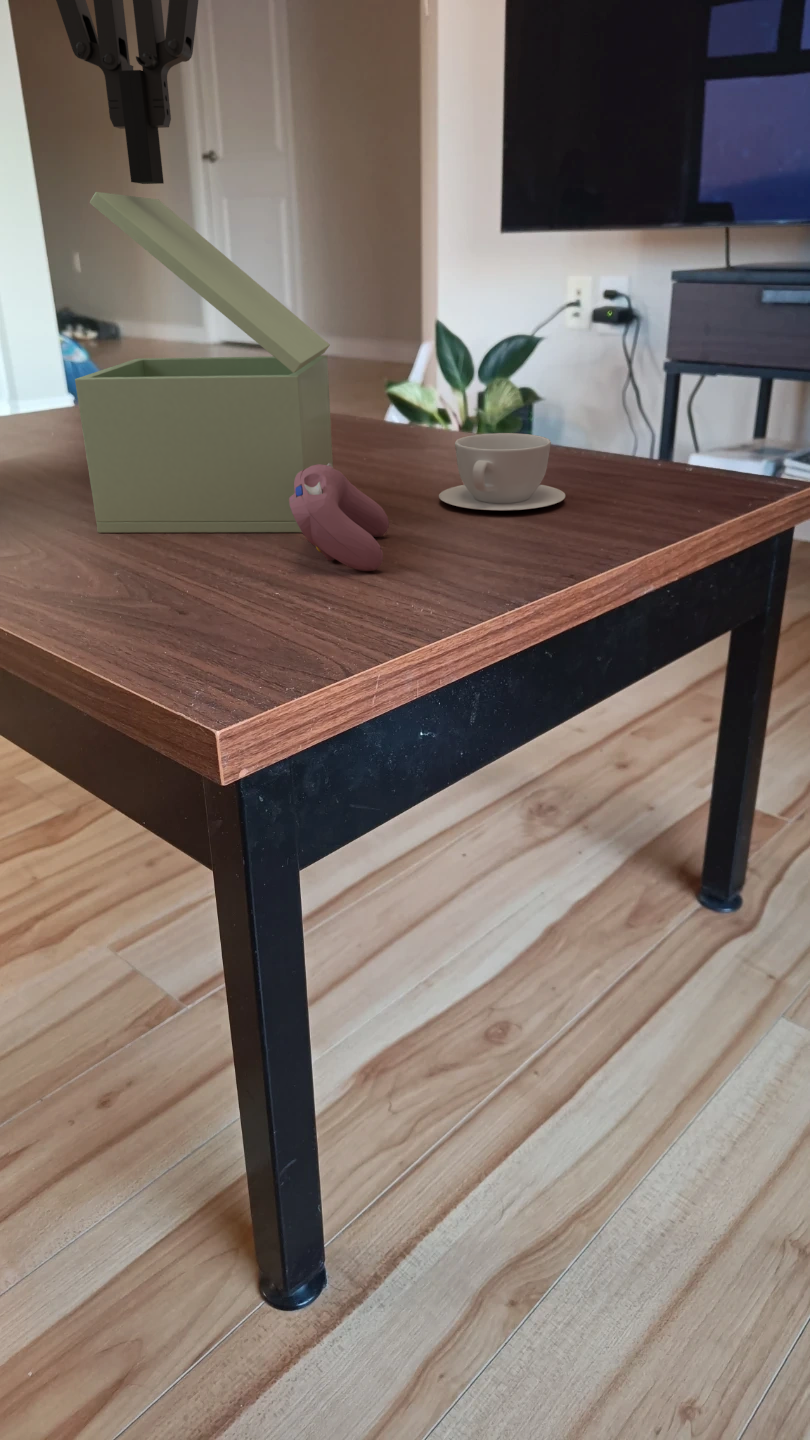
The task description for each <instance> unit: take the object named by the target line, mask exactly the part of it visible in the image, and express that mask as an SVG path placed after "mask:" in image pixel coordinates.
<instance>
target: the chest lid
mask: <svg viewBox="0 0 810 1440" xmlns="http://www.w3.org/2000/svg"><path fill="white" fill-rule="evenodd" d="M89 204H90V205H91V206H92V207H93V208H95V209H96V210H97V211H98V212H99V213H101V214H102V215H103V216H104V217H105V218H106V219H108V220H109V221H110V222H112V224H114V226H116V227H117V228H119V230H121V231H122V232H123V233H124V234H126V236H128V237H129V238H131V239H132V241H134V242H135V243H136V244H138V245H139V246H140V247H141V248H143V249H144V250H145V251H147V253H148V254H150V255H151V256H152V257H154V258H155V259H156V260H157V261H158V262H159V263H161V264H162V265H163V266H164V267H166V269H167V270H169V271H170V272H172V273H173V274H174V275H175V276H176V277H177V278H178V279H180V280H181V281H183V283H185V284H186V285H187V286H188V287H189V288H191V289H192V290H193V291H194V292H196V293H197V294H198V295H199V296H200V297H202V298H203V299H204V300H205V301H206V302H207V303H208V304H210V305H211V306H212V307H214V308H215V309H216V310H217V311H218V312H220V314H222V315H223V316H224V317H226V318H227V319H228V320H229V321H230V322H231V323H233V324H234V325H235V326H237V328H238V329H240V330H241V331H242V332H244V333H245V334H246V335H247V336H248V337H250V338H251V339H252V340H253V341H254V342H255V343H257V344H258V345H259V346H260V347H261V348H263V349H264V350H265V351H267V353H269V354H270V356H274V357H275V358H276V359H277V360H279V361H280V362H281V363H282V364H283V365H285V366H286V367H287V368H288V369H289V370H291V371H292V372H293V373H295V372H296V371H298V370H299V369H301V368H302V367H304V366H305V365H307V364H308V363H310V362H311V361H313V360H314V359H316V358H317V357H319V356H323V355H324V354H325V353H326V352H327V350H328V349H329V347H330V345H331V344H330V343H329V342H328V341H326V340H325V339H324V338H323V337H322V336H321V335H320V334H318V333H317V332H316V331H315V330H313V329H312V327H310V326H308V325H307V323H305V322H304V321H303V320H301V318H300V317H298V316H297V315H296V314H295V313H293V312H292V311H291V310H290V309H289V308H288V307H287V306H285V305H284V304H283V303H281V302H280V301H279V300H278V299H277V298H275V296H273V295H272V294H271V293H270V292H269V291H267V290H266V289H265V288H264V287H263V286H262V285H260V284H259V283H258V282H257V281H256V280H255V279H253V278H252V277H251V276H249V274H247V273H246V272H245V271H244V270H243V269H241V267H240V266H238V265H237V264H236V263H235V262H233V261H232V260H231V259H230V258H228V256H226V255H225V254H224V253H223V252H221V251H220V250H219V249H218V248H217V247H215V246H214V245H213V244H212V243H211V242H209V240H207V239H206V238H205V237H204V236H203V235H202V234H200V233H199V232H198V231H197V230H196V229H194V227H192V226H191V225H190V224H188V223H187V222H186V221H185V220H184V219H183V218H182V217H180V216H179V215H178V214H176V213H175V212H174V211H173V210H172V209H171V208H169V207H168V205H166V204H165V203H163V202H162V201H161V199H159V198H158V199H157V198H151V197H141V196H135V195H134V196H133V195H125V194H117V193H109V192H100V191H95V193H94V195H92V197H91V199H90V201H89Z"/></svg>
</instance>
